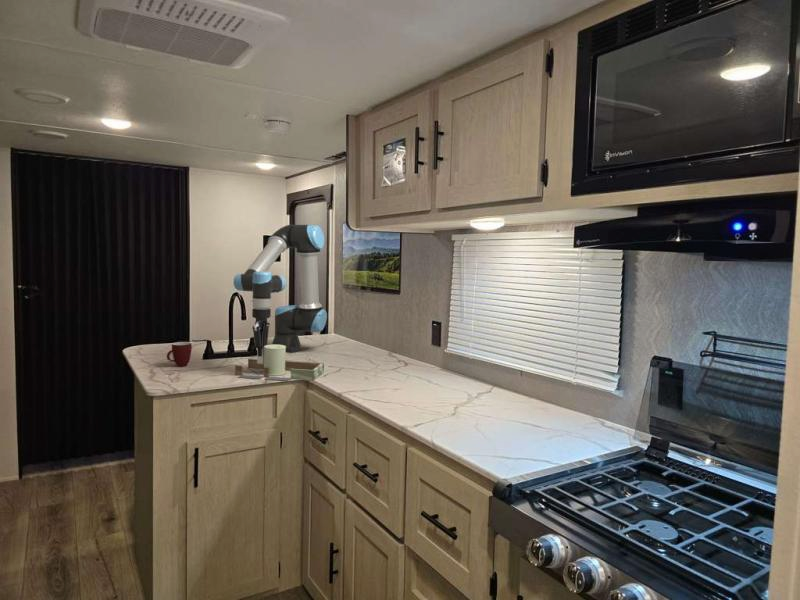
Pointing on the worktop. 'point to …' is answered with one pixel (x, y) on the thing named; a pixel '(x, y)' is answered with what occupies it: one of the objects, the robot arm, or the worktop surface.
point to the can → (275, 359)
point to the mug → (180, 353)
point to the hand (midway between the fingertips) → (260, 363)
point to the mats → (265, 378)
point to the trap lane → (289, 369)
